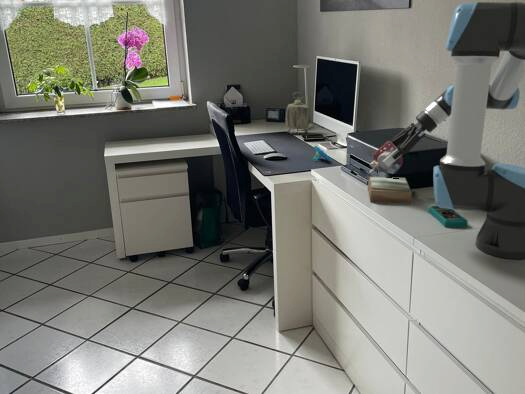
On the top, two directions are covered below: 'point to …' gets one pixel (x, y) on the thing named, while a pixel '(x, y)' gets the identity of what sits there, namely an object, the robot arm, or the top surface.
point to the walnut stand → (389, 190)
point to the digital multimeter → (448, 217)
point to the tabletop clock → (297, 115)
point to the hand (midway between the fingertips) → (382, 160)
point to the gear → (320, 154)
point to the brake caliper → (378, 159)
